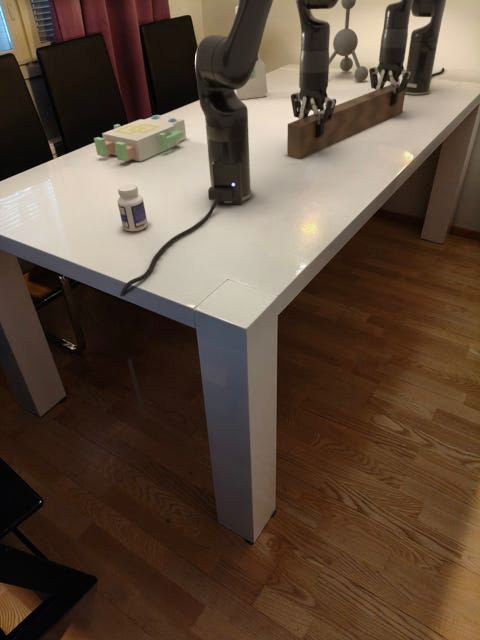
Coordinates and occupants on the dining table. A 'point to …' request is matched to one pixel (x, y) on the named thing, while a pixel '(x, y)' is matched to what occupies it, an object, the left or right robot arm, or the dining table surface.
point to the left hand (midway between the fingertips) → (311, 135)
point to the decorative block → (141, 138)
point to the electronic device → (254, 81)
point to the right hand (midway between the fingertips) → (385, 104)
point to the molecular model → (348, 46)
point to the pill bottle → (131, 208)
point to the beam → (343, 121)
